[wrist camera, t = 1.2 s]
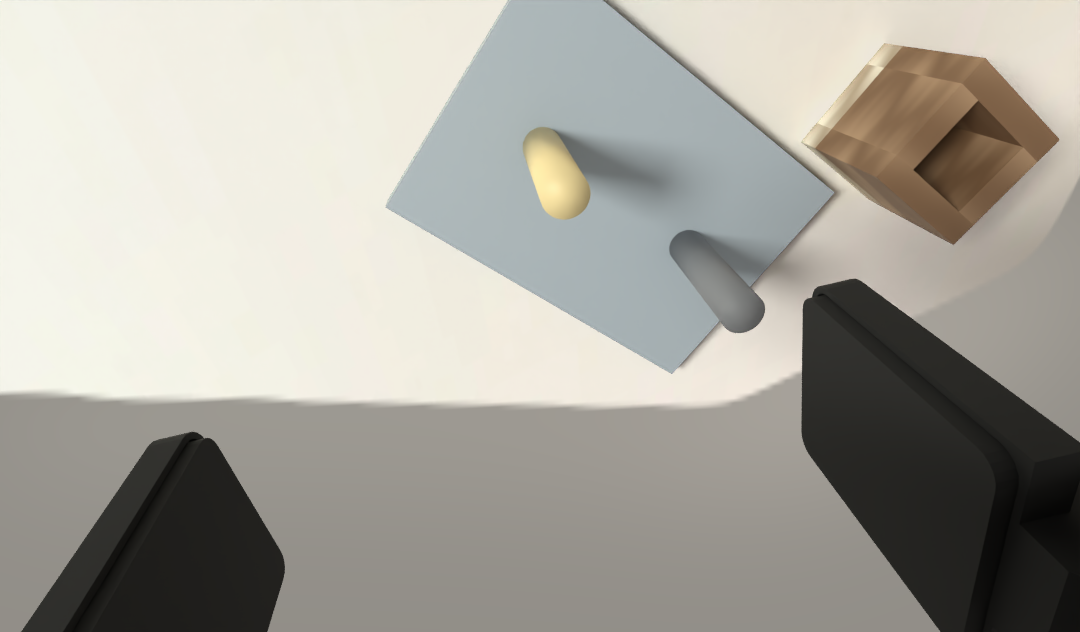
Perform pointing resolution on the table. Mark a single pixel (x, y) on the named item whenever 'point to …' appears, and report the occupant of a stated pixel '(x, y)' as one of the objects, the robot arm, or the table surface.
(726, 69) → the table surface
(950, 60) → the sleeve
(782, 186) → the board
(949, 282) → the table surface
